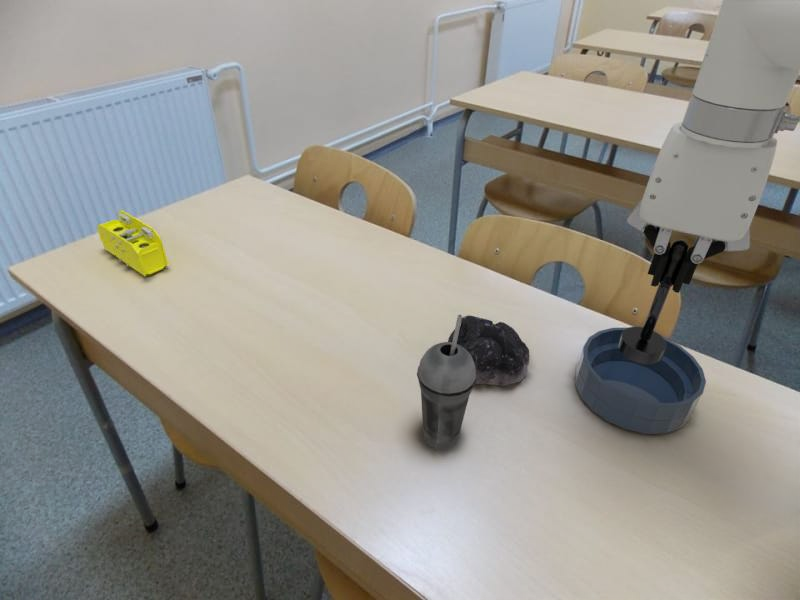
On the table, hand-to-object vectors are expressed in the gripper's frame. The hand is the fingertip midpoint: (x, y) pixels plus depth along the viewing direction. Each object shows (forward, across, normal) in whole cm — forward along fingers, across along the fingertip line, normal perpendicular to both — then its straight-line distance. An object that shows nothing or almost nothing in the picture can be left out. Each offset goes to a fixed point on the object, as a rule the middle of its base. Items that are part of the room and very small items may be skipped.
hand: (666, 282), depth 59 cm
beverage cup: (+24, +20, +14) cm, 34 cm away
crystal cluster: (+24, +20, -3) cm, 31 cm away
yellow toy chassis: (+24, +92, +4) cm, 95 cm away
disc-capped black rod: (+10, 0, 0) cm, 10 cm away
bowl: (+23, -1, -7) cm, 24 cm away
